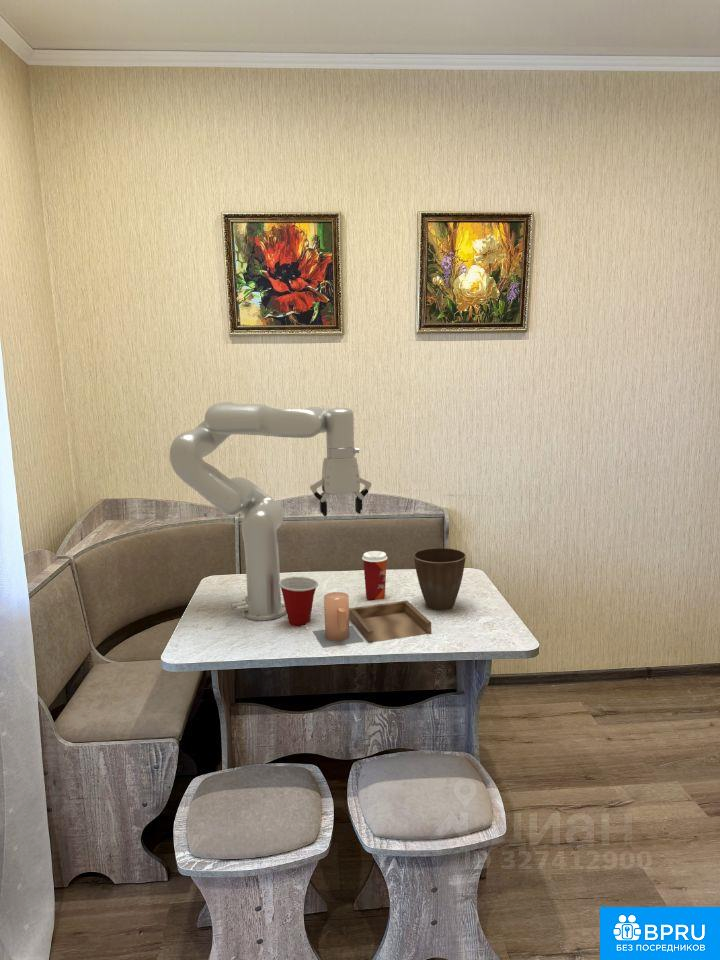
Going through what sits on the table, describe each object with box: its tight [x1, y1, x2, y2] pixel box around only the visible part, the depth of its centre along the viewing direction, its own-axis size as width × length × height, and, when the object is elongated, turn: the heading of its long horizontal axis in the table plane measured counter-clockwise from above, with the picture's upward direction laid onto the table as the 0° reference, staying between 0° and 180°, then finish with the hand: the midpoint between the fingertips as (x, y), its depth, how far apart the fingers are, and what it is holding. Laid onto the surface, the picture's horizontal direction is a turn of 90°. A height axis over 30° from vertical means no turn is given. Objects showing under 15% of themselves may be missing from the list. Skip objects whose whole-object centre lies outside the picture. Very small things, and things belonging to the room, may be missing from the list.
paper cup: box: [361, 550, 388, 602], centre depth 207 cm, size 8×8×14 cm
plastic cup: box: [279, 576, 319, 627], centre depth 189 cm, size 11×11×12 cm
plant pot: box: [413, 547, 467, 612], centre depth 198 cm, size 15×15×16 cm
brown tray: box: [349, 600, 432, 644], centre depth 185 cm, size 17×17×4 cm
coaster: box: [312, 625, 365, 649], centre depth 179 cm, size 11×11×1 cm
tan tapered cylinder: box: [323, 591, 350, 641], centre depth 177 cm, size 9×6×11 cm
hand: (341, 513), depth 190 cm, fingers open, 9 cm apart
